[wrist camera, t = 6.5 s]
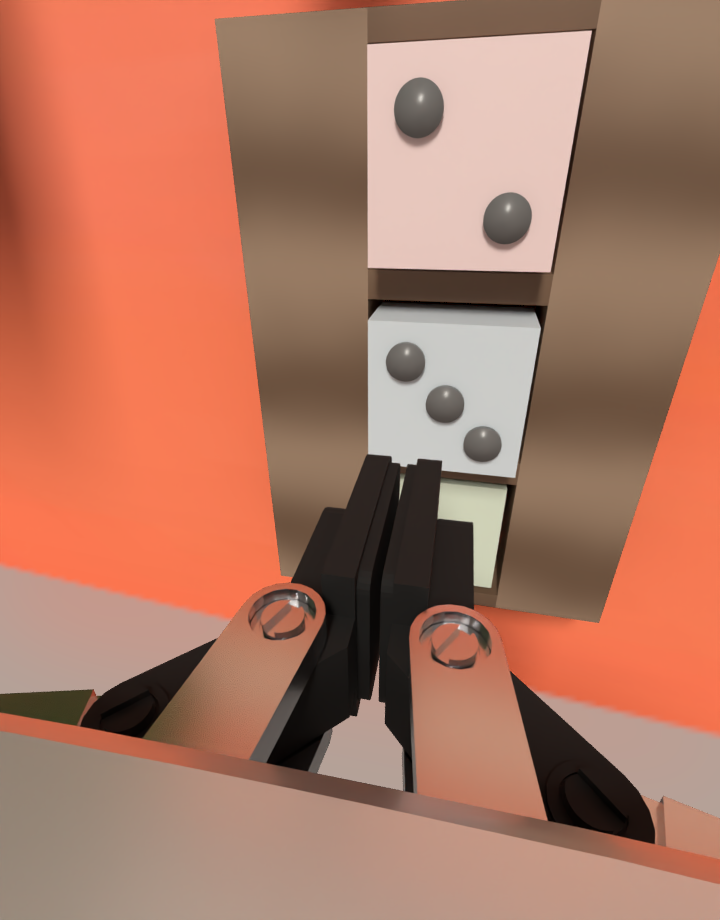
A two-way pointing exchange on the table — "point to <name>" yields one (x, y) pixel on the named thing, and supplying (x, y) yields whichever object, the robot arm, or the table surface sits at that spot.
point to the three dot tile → (450, 384)
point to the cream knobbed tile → (475, 518)
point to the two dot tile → (470, 149)
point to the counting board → (554, 293)
